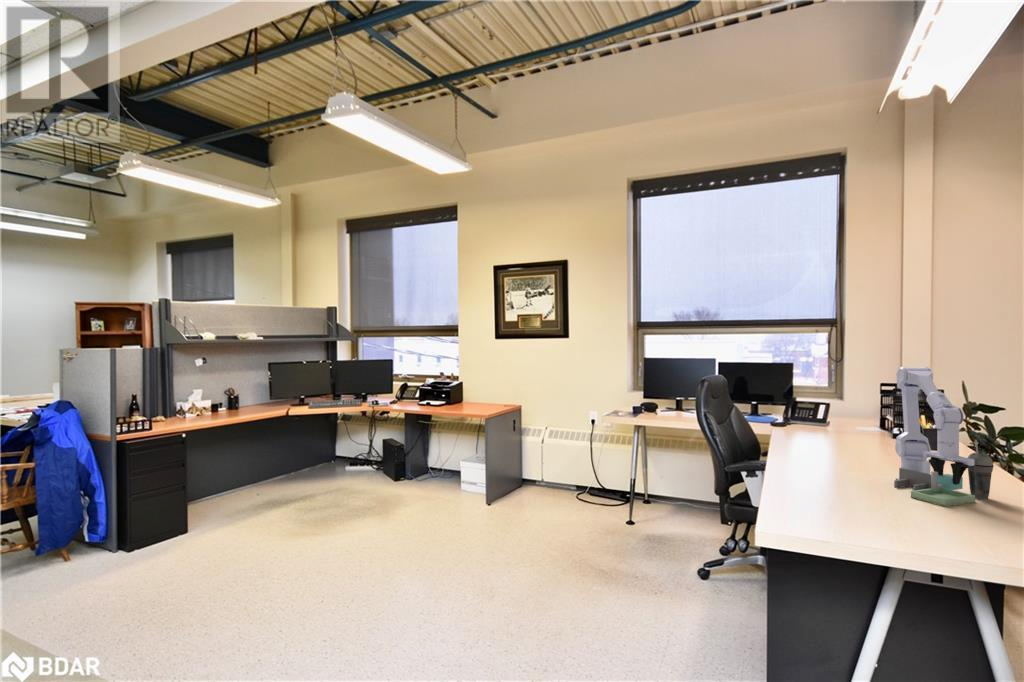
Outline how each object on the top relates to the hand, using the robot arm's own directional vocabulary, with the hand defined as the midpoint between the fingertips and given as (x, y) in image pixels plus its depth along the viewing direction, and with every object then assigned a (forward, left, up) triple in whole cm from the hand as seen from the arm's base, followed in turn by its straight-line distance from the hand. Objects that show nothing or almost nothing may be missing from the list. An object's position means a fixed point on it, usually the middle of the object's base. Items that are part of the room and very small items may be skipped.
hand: (947, 482), depth 180 cm
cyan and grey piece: (+2, 0, -2) cm, 3 cm away
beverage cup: (-12, +2, -6) cm, 14 cm away
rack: (-1, -13, -6) cm, 14 cm away
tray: (+3, 0, -6) cm, 6 cm away
